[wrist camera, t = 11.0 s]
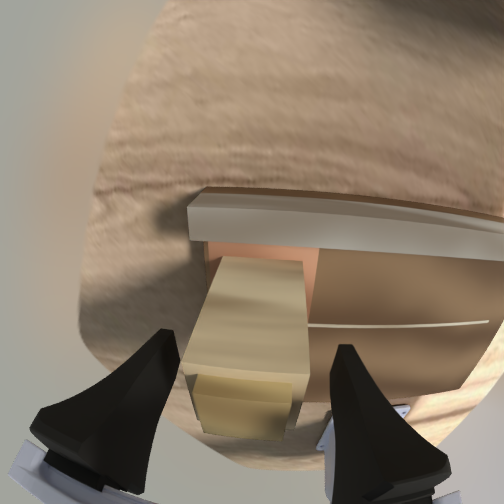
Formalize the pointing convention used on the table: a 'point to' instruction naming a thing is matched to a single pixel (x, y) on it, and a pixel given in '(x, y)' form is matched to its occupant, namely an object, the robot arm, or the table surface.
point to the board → (371, 278)
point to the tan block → (250, 350)
